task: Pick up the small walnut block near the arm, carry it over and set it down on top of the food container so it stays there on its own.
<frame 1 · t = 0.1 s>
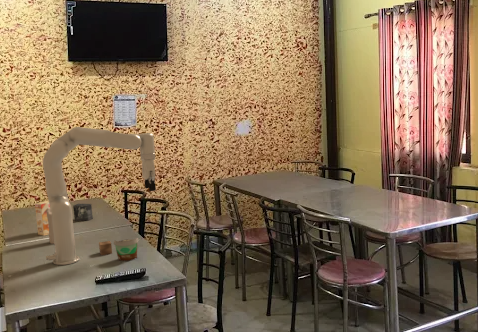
hand: (150, 189, 280), 31 cm above the table, tool pointing down, fingers open, 9 cm apart
coffeecake box: (51, 232, 329), on the table
box: (83, 220, 361), on the table
walnut block: (105, 253, 278), on the table
candle: (60, 243, 304), on the table
food container: (128, 259, 265), on the table
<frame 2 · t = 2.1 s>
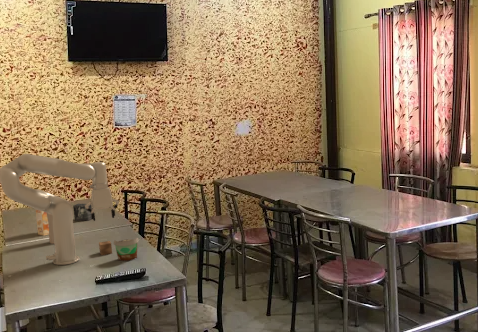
hand: (103, 218, 276), 18 cm above the table, tool pointing down, fingers open, 9 cm apart
nothing on the table moved.
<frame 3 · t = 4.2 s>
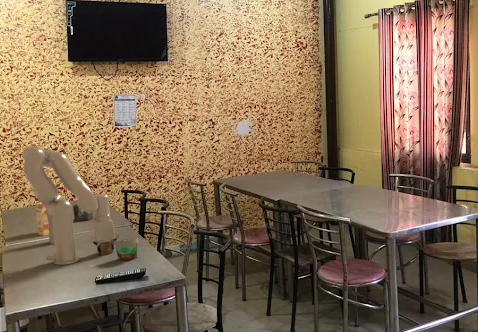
hand: (105, 251, 278), 1 cm above the table, tool pointing down, fingers closed on walnut block, 5 cm apart
walnut block: (105, 253, 278), on the table, touching gripper
everything else where it was.
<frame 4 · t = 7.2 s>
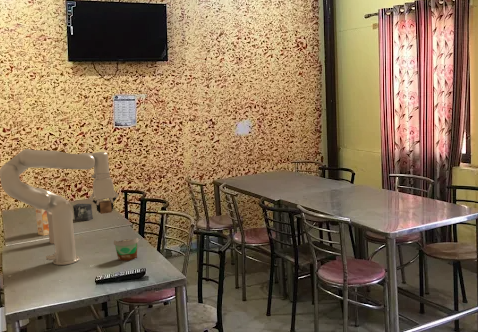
hand: (105, 210, 274), 23 cm above the table, tool pointing down, fingers closed on walnut block, 5 cm apart
walnut block: (105, 212, 274), point 22 cm above the table, touching gripper
everything else where it was.
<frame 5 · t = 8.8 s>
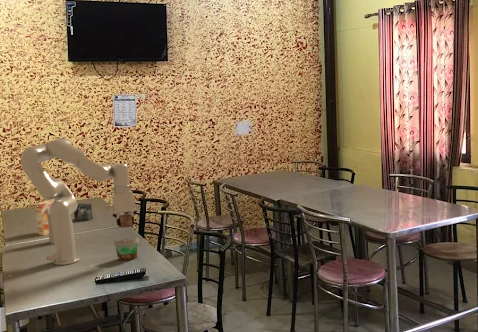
hand: (125, 225, 262), 17 cm above the table, tool pointing down, fingers closed on walnut block, 5 cm apart
walnut block: (125, 226, 263), point 17 cm above the table, touching gripper
everything else where it was.
when the fingers open (12 cm above the table, at t = 10.3 s): walnut block drops 1 cm, resting on food container.
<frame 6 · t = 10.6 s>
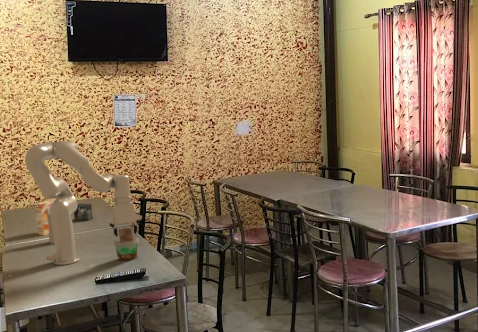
hand: (125, 234, 263), 13 cm above the table, tool pointing down, fingers open, 8 cm apart
walnut block: (126, 239, 264), point 10 cm above the table, touching food container
food container: (128, 259, 265), on the table, touching walnut block
everything else where it was.
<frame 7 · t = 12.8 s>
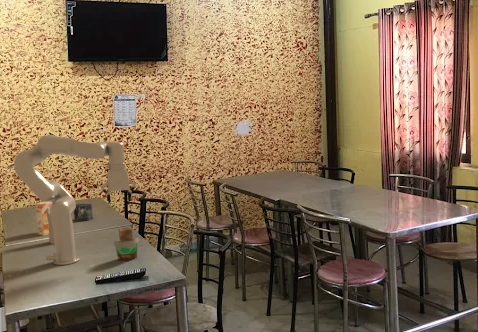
hand: (119, 201, 264), 29 cm above the table, tool pointing down, fingers open, 9 cm apart
nothing on the table moved.
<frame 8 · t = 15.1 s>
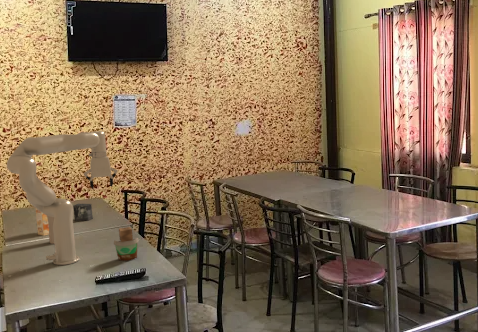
hand: (102, 187, 282), 33 cm above the table, tool pointing down, fingers open, 9 cm apart
nothing on the table moved.
at the end: walnut block inside the target area on the food container (0.2 cm from its centre), point 10.2 cm above the food container's base; walnut block tilted 0°; walnut block touching food container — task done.
